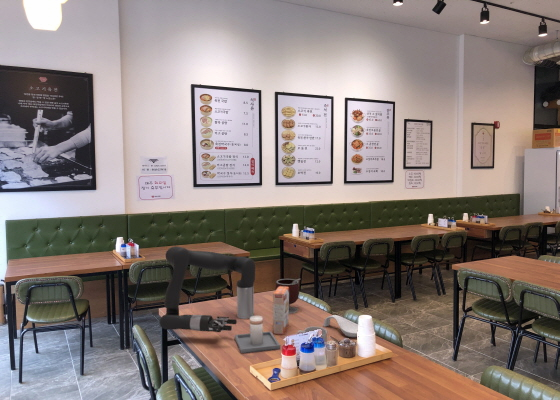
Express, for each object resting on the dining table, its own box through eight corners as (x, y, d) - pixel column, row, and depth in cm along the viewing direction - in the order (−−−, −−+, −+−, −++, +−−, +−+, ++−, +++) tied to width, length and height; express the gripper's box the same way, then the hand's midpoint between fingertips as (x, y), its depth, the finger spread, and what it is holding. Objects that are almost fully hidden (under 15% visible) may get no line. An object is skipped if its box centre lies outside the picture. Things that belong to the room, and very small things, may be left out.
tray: (234, 338, 215) (234, 334, 215) (270, 335, 219) (270, 331, 219) (241, 353, 197) (241, 349, 197) (280, 349, 202) (280, 345, 202)
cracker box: (284, 335, 219) (284, 293, 218) (272, 334, 221) (272, 293, 219) (289, 325, 233) (289, 286, 232) (278, 324, 234) (278, 285, 233)
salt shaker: (249, 340, 211) (248, 316, 210) (261, 339, 212) (261, 315, 211) (251, 345, 205) (251, 320, 204) (264, 344, 206) (264, 319, 205)
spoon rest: (369, 335, 219) (369, 321, 218) (354, 342, 211) (355, 327, 210) (332, 323, 236) (332, 310, 236) (317, 329, 228) (317, 315, 228)
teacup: (329, 344, 208) (329, 327, 207) (324, 353, 198) (324, 336, 197) (300, 340, 212) (300, 324, 212) (294, 349, 202) (294, 332, 202)
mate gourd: (270, 311, 255) (270, 277, 254) (283, 305, 267) (283, 272, 266) (294, 316, 247) (294, 281, 246) (306, 309, 259) (306, 276, 257)
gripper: (196, 320, 205) (229, 322, 202) (206, 310, 219) (238, 312, 216) (196, 336, 206) (229, 338, 203) (206, 325, 220) (238, 327, 217)
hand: (234, 325), depth 210 cm, fingers open, 8 cm apart
